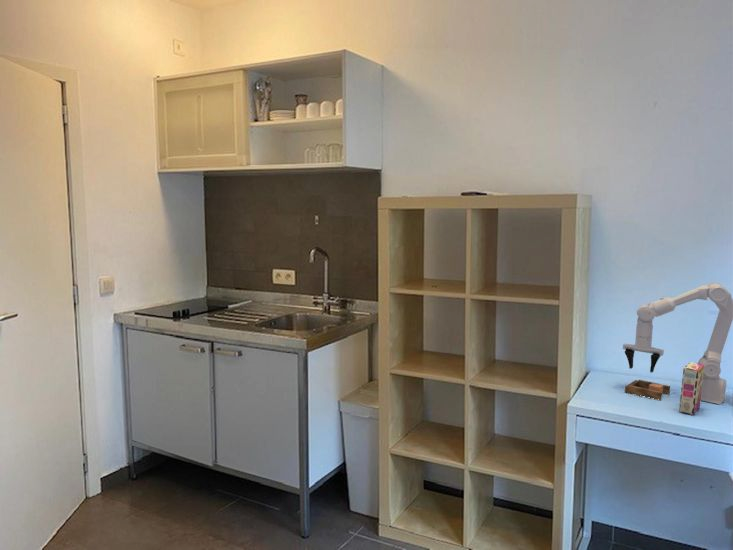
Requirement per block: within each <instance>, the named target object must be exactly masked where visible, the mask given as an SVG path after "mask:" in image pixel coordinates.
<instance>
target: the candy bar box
mask: <svg viewBox="0 0 733 550" xmlns="http://www.w3.org/2000/svg"><path fill="white" fill-rule="evenodd" d="M682 371H683V372H682V381H681V388H680V389H681V390H680V400H679V409H678V412H679V413H682V414H685V415H690V416H694V415H695V413H696V412H697V411H698V410H699V409H700V407H701V400H700V399H701V390H702V381H703V371H704V364H699V363H698V362H691V361H690V362H689V363H688V364H686V365H684V367H683V370H682Z"/></svg>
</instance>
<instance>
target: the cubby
mask: <svg viewBox="0 0 733 550" xmlns="http://www.w3.org/2000/svg"><path fill="white" fill-rule="evenodd" d="M651 383H655V384H660V385H663V392H664V393H663V394H665V393H668V394H667V395H670V394H669V393H671V385H667V384H662V383H657V382H652V381H648V380H644V379H638V380H637V379H635V380H633V381H632V382H630V383H628V384H626V385H625V386H624V393H625V392H626V394H629V393H631V394H630V395H633V394H636V395H635V396H638V395H641V396H640V397H642V396H645V397H644V398H647V397H650V398H649V399H651V398H654V399H653V400H655V399H659V400H658V401H662V396H663V395H662V392H659V391H654V390H650V389H649V385H650V384H651Z"/></svg>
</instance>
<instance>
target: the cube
mask: <svg viewBox="0 0 733 550" xmlns="http://www.w3.org/2000/svg"><path fill="white" fill-rule="evenodd" d="M655 383H656V382H653V383H651V384H650V385H649V389H650V390H654V391H659V392H662V394H664V393H663V385H664V384H663V385H660V384H661V383H658V384H655Z"/></svg>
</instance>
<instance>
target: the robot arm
mask: <svg viewBox="0 0 733 550" xmlns="http://www.w3.org/2000/svg"><path fill="white" fill-rule="evenodd" d="M708 298H709V300H710V301H711V302H713V303H714V304H715V306H716V307H717V308H718V309H719V311H718V314H717V317H716V320H715V322H714V326H713V329H712V332H711V335H710V338H709V342H708V345H707V348H706V350H705V351H704V353H703V355H702V357H701V358H700V359H699V360H698V362H697V363H699V364H704V371H703V381H702V390H701V399H700V401H703V402H707V403H711V404H716V405H721V404H722V403H723V402H724V401H725V400H726V389H727V380H726V379H725V378H721V377H720V375H721V372H722V370H721V363H722V353H723V350H724V347H725V344H726V341H727V338H728V335H729V332H730V328H731V326H732V323H733V298H732V294H731V293H730V292H729V290H728V289H727V288H726V287H725V286H723V285H722V284H721V283H719V282H710V283H709V284H703V285H701V286H698V287H695V288H693V289H691V290H689V291H687V292H684V293H682V294H679V295H677V296H675V297H672V298H671V297H669V296H665V297H664V296H661V297H659V299H658V300H656V301H653V302H647V304H643V305H640V306H639V307H638V308H637V311H636V315H637V319H636V320H637V321H636V329H635V344H632V343H631V344H629V343H624V344H622V350H624V354H625V356H626V359H627V362H628V367H629V369H633V368H634V357H635V352H641V353H646V354H650V368H649V369H650V370H649V372H650V373H653V372H654V370H655V367H656V364H657V362H658V360H659V359H660V357H661V356H663V355H664V354H665V353H664V352H665V350H664V349H661V348H657V347H652V341H653V328H654V326H653V320H654V319H655V317H656V318H658V317H661V316H663V315H667V314H668V313H671V312H674V310H675V309H676V307H677V306H682V305H684V304H686V303H689V302H693V301H695V300H703V301H708Z"/></svg>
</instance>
